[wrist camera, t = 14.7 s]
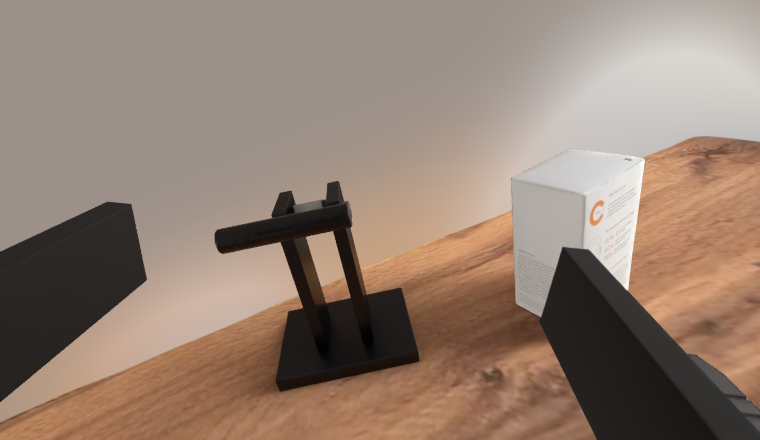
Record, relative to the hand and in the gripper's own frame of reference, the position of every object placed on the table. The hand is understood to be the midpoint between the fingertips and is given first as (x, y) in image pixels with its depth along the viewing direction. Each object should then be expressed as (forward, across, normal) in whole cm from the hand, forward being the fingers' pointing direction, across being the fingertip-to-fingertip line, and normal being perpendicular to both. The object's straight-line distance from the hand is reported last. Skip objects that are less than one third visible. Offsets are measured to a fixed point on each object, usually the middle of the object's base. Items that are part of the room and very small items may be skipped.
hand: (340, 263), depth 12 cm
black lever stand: (+18, -2, -19) cm, 26 cm away
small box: (+20, +18, -14) cm, 31 cm away
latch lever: (+12, -4, -6) cm, 14 cm away
